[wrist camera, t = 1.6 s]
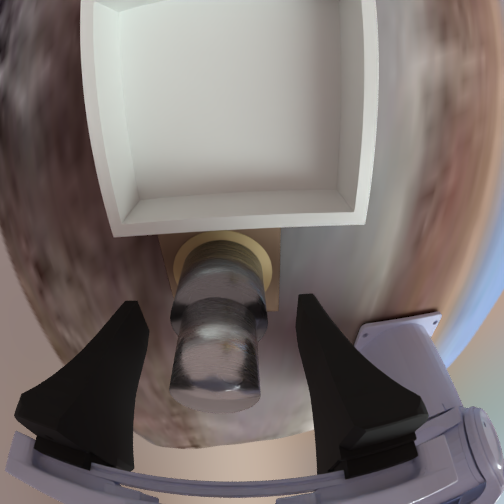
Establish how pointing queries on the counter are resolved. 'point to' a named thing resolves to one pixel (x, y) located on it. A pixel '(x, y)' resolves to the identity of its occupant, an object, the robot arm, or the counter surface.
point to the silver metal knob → (218, 328)
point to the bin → (231, 112)
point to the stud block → (256, 240)
